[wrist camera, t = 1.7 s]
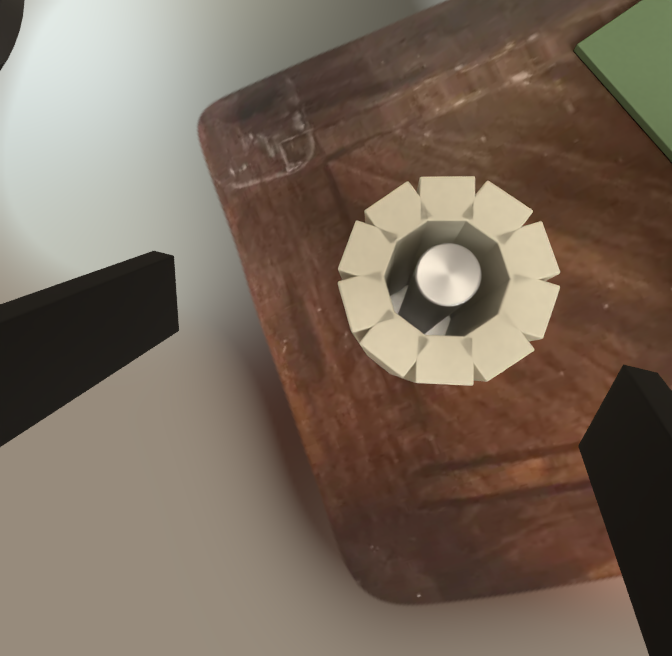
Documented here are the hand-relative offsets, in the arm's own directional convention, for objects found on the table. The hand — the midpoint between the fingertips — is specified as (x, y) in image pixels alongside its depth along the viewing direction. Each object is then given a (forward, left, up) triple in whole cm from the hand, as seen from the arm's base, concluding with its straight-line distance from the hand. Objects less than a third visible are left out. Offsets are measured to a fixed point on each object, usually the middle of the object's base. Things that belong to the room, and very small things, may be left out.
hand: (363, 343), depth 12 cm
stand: (-1, +4, -17) cm, 17 cm away
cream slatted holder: (-1, +4, -15) cm, 16 cm away
